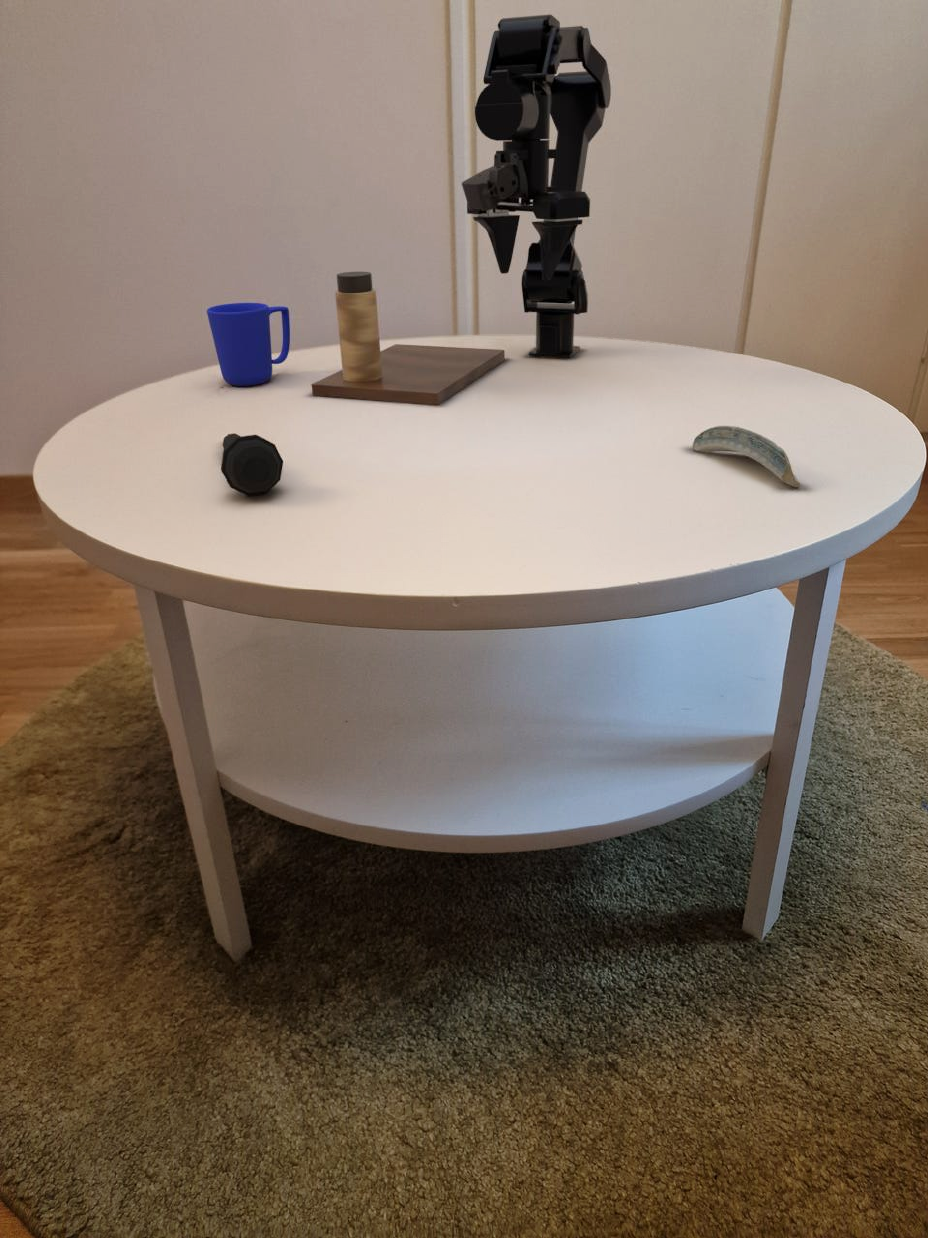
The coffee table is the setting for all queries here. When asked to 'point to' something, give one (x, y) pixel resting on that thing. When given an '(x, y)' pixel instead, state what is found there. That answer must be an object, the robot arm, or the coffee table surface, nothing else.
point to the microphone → (251, 464)
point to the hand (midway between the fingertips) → (525, 276)
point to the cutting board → (415, 374)
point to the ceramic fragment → (747, 449)
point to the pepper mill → (358, 327)
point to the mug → (246, 341)
